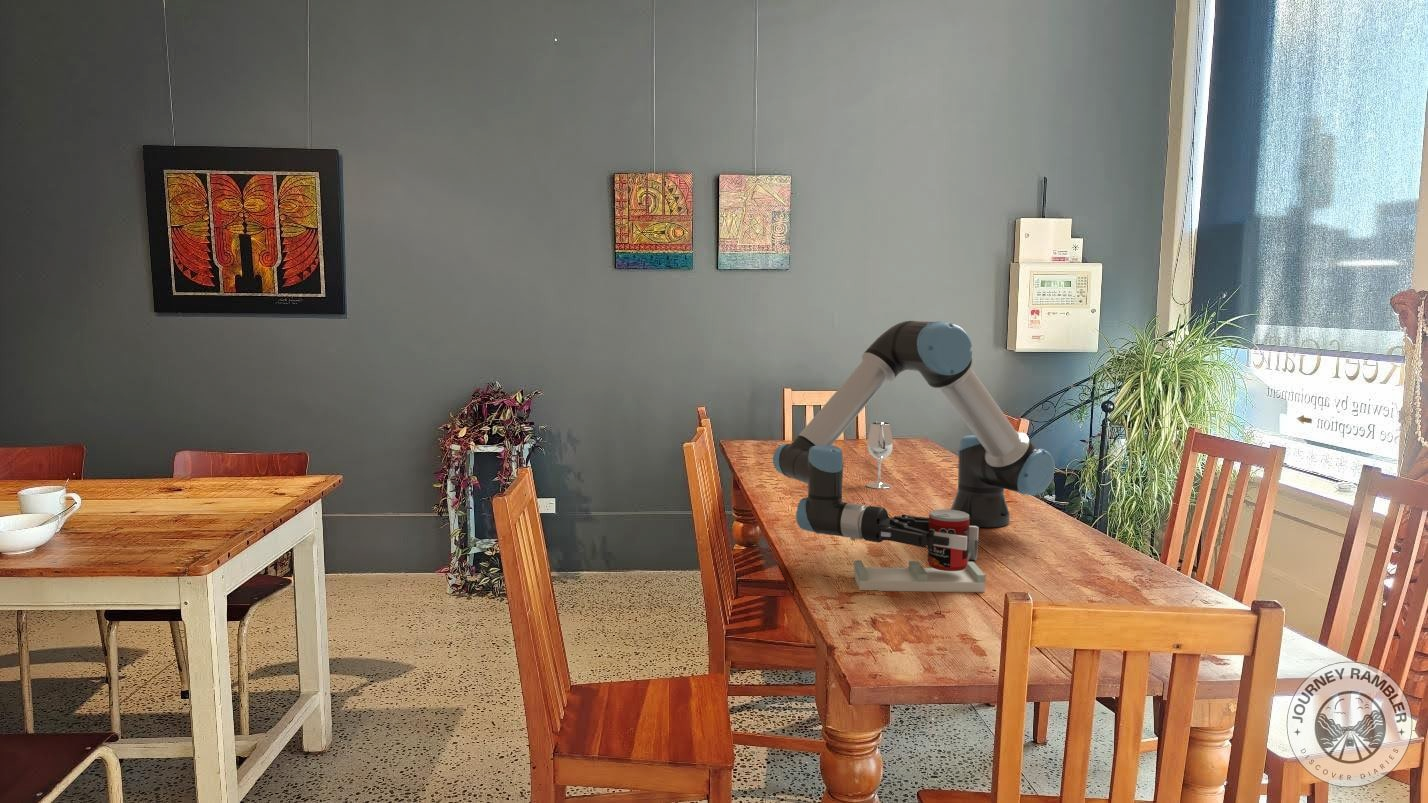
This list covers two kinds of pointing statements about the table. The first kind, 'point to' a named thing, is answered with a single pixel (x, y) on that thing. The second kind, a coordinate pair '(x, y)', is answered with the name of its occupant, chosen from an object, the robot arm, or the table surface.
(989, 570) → the table surface
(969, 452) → the robot arm
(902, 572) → the rail
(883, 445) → the wineglass
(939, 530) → the canned food
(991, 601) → the table surface
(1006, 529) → the table surface
